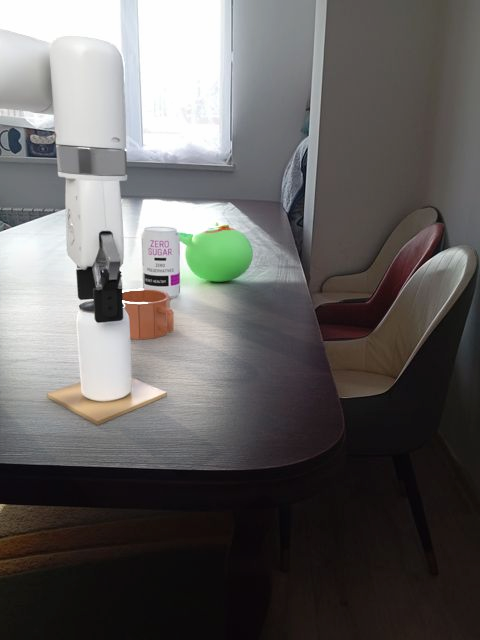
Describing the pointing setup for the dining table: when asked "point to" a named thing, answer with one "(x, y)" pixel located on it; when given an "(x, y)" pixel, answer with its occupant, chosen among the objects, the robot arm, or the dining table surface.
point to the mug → (148, 313)
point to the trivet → (105, 410)
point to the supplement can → (161, 260)
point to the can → (103, 355)
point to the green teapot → (217, 252)
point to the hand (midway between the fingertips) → (99, 309)
